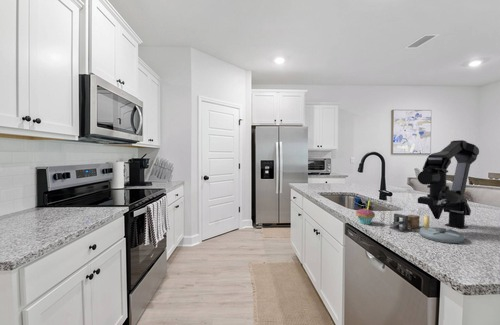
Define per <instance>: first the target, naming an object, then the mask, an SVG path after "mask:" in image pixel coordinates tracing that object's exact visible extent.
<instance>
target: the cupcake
mask: <svg viewBox="0 0 500 325" xmlns="http://www.w3.org/2000/svg"><path fill="white" fill-rule="evenodd" d="M370 204H371V199H369V200H368V202H367V208H359V209H357V210H356V211H355V216H356V217H357V218H358V220H359V223H360V224H362V225H366V226H367V225H371V223H372V221H373V219H374V218H375V217H376V213H375V212H374V211H373V210H371V209H369V208H370Z"/></svg>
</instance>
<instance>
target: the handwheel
mask: <svg viewBox="0 0 500 325" xmlns="http://www.w3.org/2000/svg"><path fill="white" fill-rule="evenodd" d="M419 235H420V236H421V237H423V238H426V239H428V240H431V241H436V242H440V243H441V242H442V243H449V244H460V243H464V242H465V241H464V240H465V234H464V233H462V232H460V231H456V230H453V229H451V228H445V227H444V228H443V227H437V226H436V227H434V226H430V216H427V215H424V216H423V227H421V228H420V227H419Z"/></svg>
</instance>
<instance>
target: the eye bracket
mask: <svg viewBox="0 0 500 325" xmlns="http://www.w3.org/2000/svg"><path fill="white" fill-rule="evenodd" d="M406 215H407V214H401V213H393V222H399V221H400V218H401V219H402V220H401V221H402V224H401V225H402V226H401V225H396V226H394V227H393V226H391V225H390V226H389V229H392V230H395V231H398V232H402V233H409V232H413V228H409V227H408V216H406Z"/></svg>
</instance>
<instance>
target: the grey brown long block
mask: <svg viewBox="0 0 500 325" xmlns="http://www.w3.org/2000/svg"><path fill="white" fill-rule="evenodd" d="M405 215H406V216H408V229H417V228H420V215H416V214H405ZM396 225H399V226H401V225H402V220H399V222H394V221H392V222H390V227H391V226H393V227H394V226H396Z"/></svg>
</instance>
